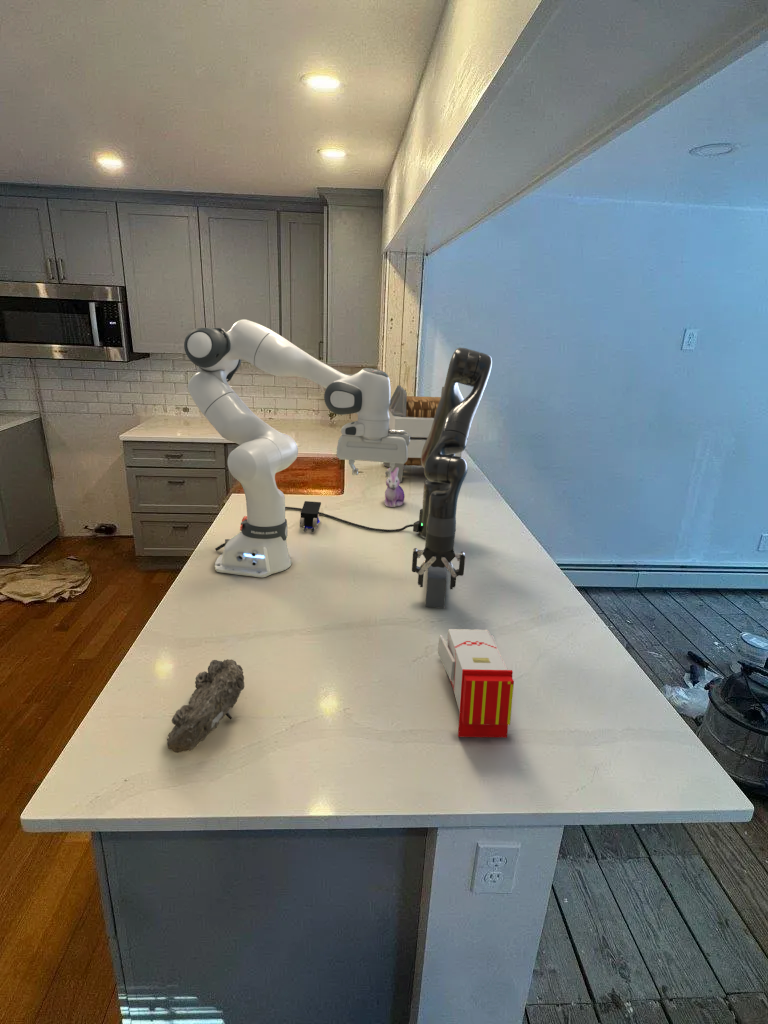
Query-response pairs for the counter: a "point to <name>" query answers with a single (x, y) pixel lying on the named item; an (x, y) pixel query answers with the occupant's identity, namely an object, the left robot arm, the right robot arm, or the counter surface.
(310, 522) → the figurine character
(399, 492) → the figurine
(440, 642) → the toy
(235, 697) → the fossil
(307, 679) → the counter surface
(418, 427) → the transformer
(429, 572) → the bar
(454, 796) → the counter surface
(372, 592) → the counter surface
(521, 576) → the counter surface
